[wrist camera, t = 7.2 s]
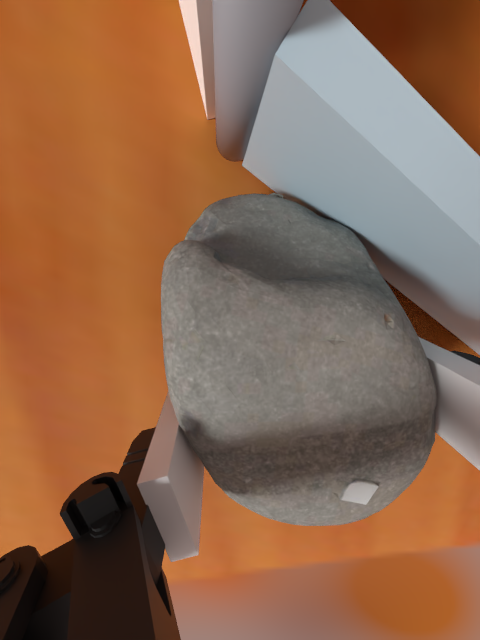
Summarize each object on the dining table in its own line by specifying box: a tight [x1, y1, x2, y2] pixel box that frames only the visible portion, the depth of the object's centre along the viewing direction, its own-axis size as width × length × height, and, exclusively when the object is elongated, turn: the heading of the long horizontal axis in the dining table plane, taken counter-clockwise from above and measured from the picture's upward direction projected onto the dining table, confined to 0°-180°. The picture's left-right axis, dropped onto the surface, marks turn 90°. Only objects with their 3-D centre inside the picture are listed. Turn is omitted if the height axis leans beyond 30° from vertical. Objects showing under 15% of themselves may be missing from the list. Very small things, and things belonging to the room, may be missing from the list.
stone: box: [161, 193, 436, 526], centre depth 11 cm, size 9×9×10 cm
